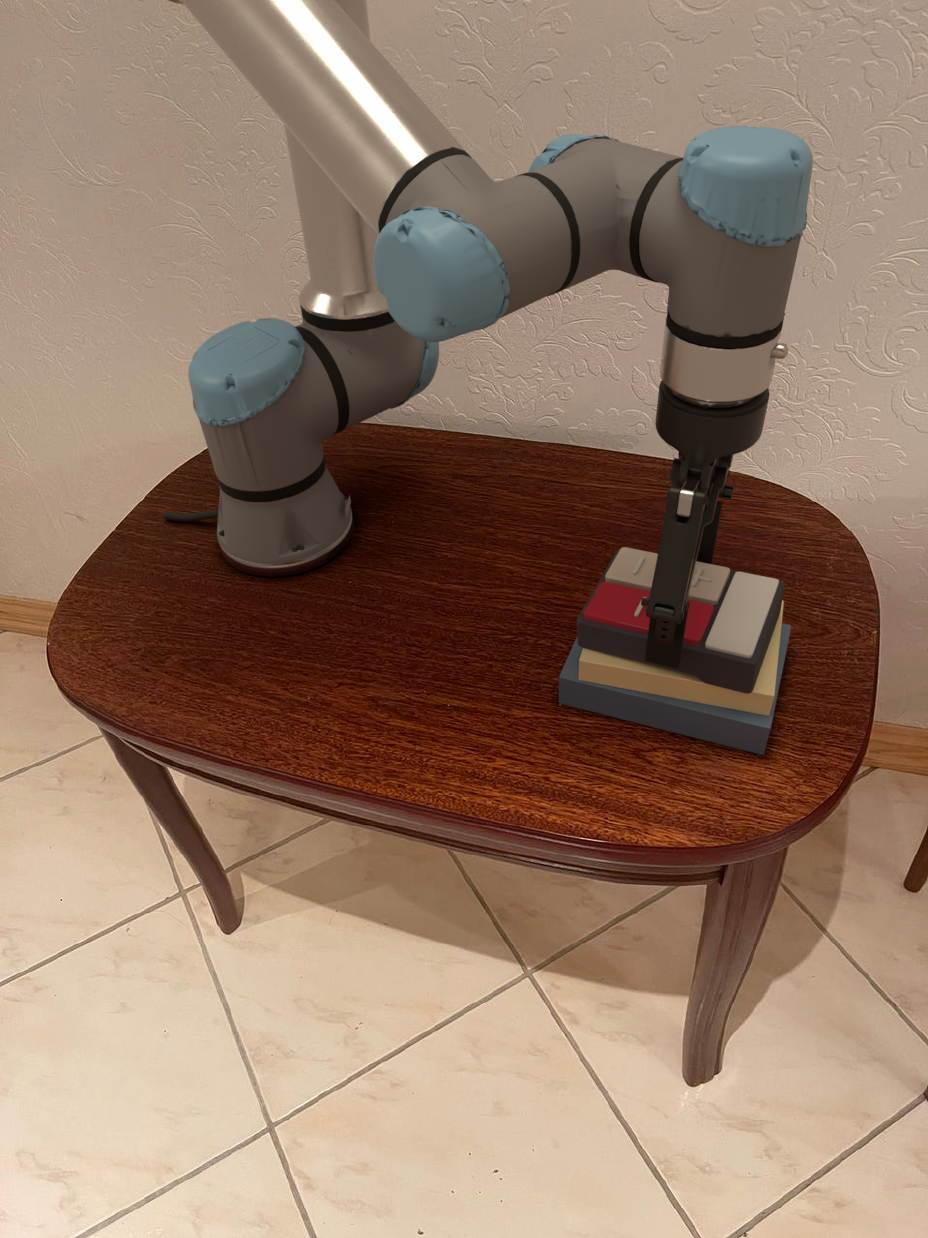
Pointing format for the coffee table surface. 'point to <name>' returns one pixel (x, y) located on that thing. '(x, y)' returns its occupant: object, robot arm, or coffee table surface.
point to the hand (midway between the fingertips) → (680, 608)
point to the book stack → (677, 695)
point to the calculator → (716, 624)
